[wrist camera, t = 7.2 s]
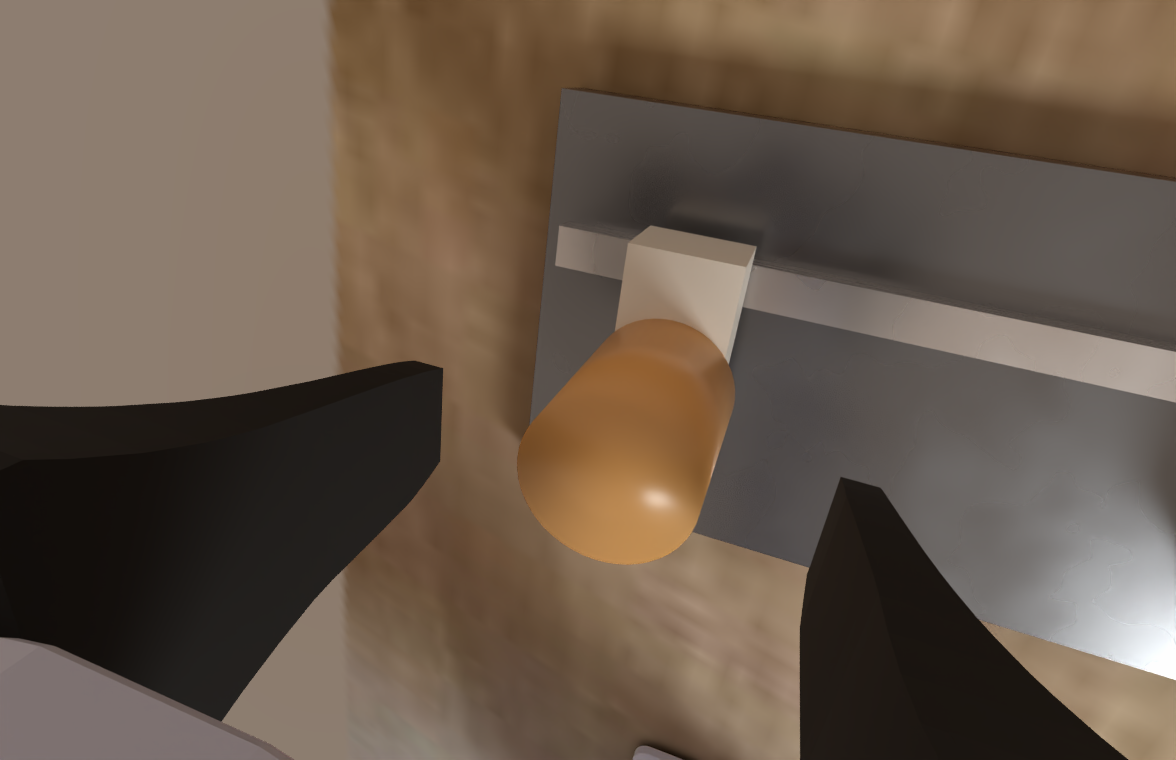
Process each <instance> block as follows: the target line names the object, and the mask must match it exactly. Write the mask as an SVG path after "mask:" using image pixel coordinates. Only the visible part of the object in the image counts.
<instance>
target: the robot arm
mask: <svg viewBox="0 0 1176 760" xmlns="http://www.w3.org/2000/svg"><path fill="white" fill-rule="evenodd" d="M442 386H443V368H440V367H436V366H432V365H429V364H425V363H421V362H418V361H405V362H397V363H392V364H386V365H381V366H376V367H372V368H367V369H362V370H358V371H354V372H349V373H345V374H340V375H336V376H332V377H327V378H323V379H318V380H314V381H310V382H304V383H300V384H294V385H289V386H284V387H279V388H274V389H269V390H264V391H258V392H253V393H247V394H241V395H235V396H228V397H220V398H212V399H204V400H195V401H186V402H176V403H161V404H160V403H159V404H143V405H127V406H108V407H107V406H106V407H33V406H7V405H0V760H294V759H293V758H291V757H289V756H288V755H286V754H285V753H283V752H282V751H280V750H279V749H277V748H276V747H274V746H273V745H271V744H269V743H267V742H264V741H262V740H260V739H258V738H256V737H254V736H251V735H249V734H247V733H245V732H243V731H240V730H238V729H236V728H234V727H232V726H229V725H227V724H225V723H223V722H221V721H222V720H223V718H224V717H225V716H226V714H227V713H228V711H229V710H230V708H231V707H232V706H233V704H234V703H235V701H236V700H237V699H238V697H239V696H240V694H241V693H242V692H243V690H244V689H245V688H246V686H247V685H248V684H249V682H250V681H251V680H252V678H253V677H254V676H255V674H256V673H257V672H258V670H259V669H260V668H261V666H262V665H263V664H264V662H265V661H266V660H267V658H268V657H269V656H270V655H271V653H272V652H273V651H274V649H275V648H276V647H277V645H278V644H279V642H280V641H281V640H282V639H283V638H284V636H285V635H286V634H287V633H288V631H289V630H290V629H291V628H292V627H293V625H294V624H295V623H296V622H297V620H298V619H299V618H300V617H301V615H302V614H303V613H304V612H305V610H306V609H307V608H308V607H309V605H310V604H311V603H312V602H313V600H314V599H315V598H316V597H317V596H318V595H319V594H320V593H321V592H322V591H323V590H324V588H325V587H326V586H327V585H328V584H329V583H330V582H331V581H332V580H333V579H334V578H335V577H336V576H337V575H338V574H339V573H340V572H341V571H342V570H343V569H344V568H345V567H346V566H347V565H348V564H349V563H350V562H351V561H352V560H353V559H354V558H355V557H356V556H357V555H358V554H359V553H360V552H361V551H362V550H363V549H364V548H365V547H366V546H367V545H368V544H369V543H370V542H371V541H372V540H373V539H374V538H375V537H376V536H377V535H378V534H379V533H380V532H381V531H382V530H383V529H384V528H385V527H386V526H387V525H388V524H389V523H390V522H391V521H392V520H393V519H394V518H395V517H396V516H397V515H398V514H399V513H400V512H401V511H402V510H403V509H404V508H405V507H406V506H407V504H408V503H409V502H410V501H411V500H412V499H413V498H414V496H415V495H416V494H417V492H418V491H419V490H420V489H421V487H422V486H423V485H424V483H425V482H426V480H427V479H428V478H429V476H430V475H431V473H432V472H433V471H434V469H435V468H436V466H437V465H438V463H439V462H440V448H441V417H442ZM633 760H683V759H680V758H678V757H675V756H673V755H670V754H668V753H665V752H662V751H660V750H657V749H655V748H652V747H649V746H640V747H638V748H636V750H635V753H634V756H633ZM800 760H1128V759H1127V758H1126V757H1124V756H1123V755H1122V754H1121V753H1119V752H1118V751H1117V750H1116V749H1115V748H1113V747H1112V746H1111V745H1110V744H1108V743H1107V742H1106V741H1105V740H1104V739H1102V738H1101V737H1100V736H1099V735H1098V734H1096V733H1095V732H1094V731H1093V730H1092V729H1091V728H1090V727H1088V726H1087V725H1086V724H1085V723H1084V722H1083V721H1082V720H1081V719H1079V718H1078V717H1077V716H1076V715H1075V714H1074V713H1073V712H1071V711H1070V710H1069V709H1068V708H1067V707H1066V706H1065V705H1063V704H1062V703H1061V702H1060V701H1059V700H1058V699H1057V698H1056V697H1054V696H1053V695H1052V694H1051V693H1050V692H1049V691H1048V690H1047V689H1046V688H1045V687H1044V686H1043V685H1042V684H1041V683H1040V682H1038V681H1037V680H1036V679H1035V678H1034V677H1033V676H1032V675H1031V674H1030V673H1029V672H1028V671H1027V670H1026V669H1025V668H1024V667H1023V666H1022V665H1021V664H1020V663H1019V662H1018V661H1017V660H1016V659H1015V658H1014V657H1013V656H1012V655H1011V654H1010V653H1009V652H1008V650H1007V649H1006V648H1005V647H1004V646H1003V645H1002V644H1001V643H1000V642H999V641H998V640H997V639H996V638H995V637H994V636H993V635H992V634H991V633H990V632H989V631H988V629H987V628H986V627H985V626H984V625H983V624H982V623H981V622H980V621H979V619H978V618H977V617H976V616H975V615H974V614H973V612H972V611H971V610H970V609H969V608H968V606H967V605H966V604H965V603H964V602H963V600H962V599H961V598H960V597H959V596H958V594H957V593H956V592H955V591H954V590H953V588H952V587H951V586H950V585H949V583H948V582H947V581H946V579H945V578H944V577H943V576H942V574H941V573H940V572H939V570H938V569H937V568H936V566H935V565H934V564H933V562H932V561H931V560H930V558H929V557H928V556H927V554H926V553H925V551H924V550H923V549H922V547H921V546H920V544H919V543H918V542H917V540H916V539H915V537H914V536H913V534H912V533H911V531H910V530H909V529H908V527H907V526H906V524H905V523H904V521H903V520H902V518H901V517H900V515H899V514H898V512H897V511H896V509H895V508H894V506H893V505H892V503H891V502H890V500H889V499H888V497H887V496H886V494H885V493H884V492H883V490H882V489H881V488H880V487H877V486H873V485H869V484H866V483H862V482H858V481H855V480H851V479H847V478H844V477H840V480H839V483H838V486H837V489H836V492H835V495H834V498H833V501H832V504H831V507H830V509H829V512H828V515H827V518H826V521H825V524H824V527H823V530H822V533H821V536H820V539H819V541H818V544H817V547H816V550H815V553H814V556H813V559H812V562H811V565H810V568H809V571H808V573H807V578H806V586H805V593H804V600H803V608H802V616H801V624H800Z"/></svg>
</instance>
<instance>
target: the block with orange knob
mask: <svg viewBox="0 0 1176 760" xmlns="http://www.w3.org/2000/svg"><path fill="white" fill-rule="evenodd" d="M756 247H757V246H752V245H747V244H742V243H737V242H732V241H727V240H722V239H717V238H712V237H707V236H702V235H697V234H691V233H686V232H681V231H676V230H671V229H666V228H661V227H656V226H649V227H648V228H647V229H645V230H644V231H643V232H641V233H640V234H639V235H638V236H636V237H635V238H634V239H632V240H631V241H630V242H629V243H628V247H627V253H626V260H625V267H624V273H623V280H622V287H621V293H620V300H619V307H618V313H617V320H616V327H615V332H614V333H612V334H611V335H610V336H609V337H608V338H607V339H606V340H605V341H604V342H603V343H602V344H601V346H600V347H599V348H598V349H597V350H596V351H595V352H594V353H593V354H592V356H591V357H590V358H589V359H588V360H587V361H586V362H585V363H584V365H583V366H582V367H581V368H580V369H579V370H578V371H577V372H576V373H575V375H574V376H573V377H572V378H571V379H570V380H569V381H568V382H567V384H566V385H565V386H564V387H563V388H562V389H561V390H560V391H559V392H558V394H557V395H556V396H555V397H554V398H553V399H552V400H551V401H550V402H549V404H548V405H547V406H546V407H545V408H544V409H543V410H542V411H541V413H540V414H539V415H538V416H537V417H536V418H535V419H534V420H533V422H532V423H531V424H530V426H529V427H528V428H527V430H526V432H525V434H524V436H523V438H522V440H521V444H520V447H519V451H518V457H517V471H518V479H519V483H520V487H521V490H522V493H523V495H524V498H525V500H526V502H527V504H528V506H529V508H530V510H531V511H532V513H533V514H534V516H535V517H536V518H537V520H538V521H539V522H540V523H541V524H542V526H543V527H544V528H545V529H546V530H547V531H548V532H549V533H550V534H551V535H552V536H554V537H555V538H556V539H557V540H559V541H560V542H561V543H563V544H564V545H566V546H567V547H569V548H570V549H572V550H574V551H576V552H578V553H580V554H582V555H584V556H587V557H589V558H592V559H595V560H599V561H603V562H607V563H613V564H627V565H629V564H641V563H646V562H650V561H653V560H656V559H659V558H662V557H664V556H666V555H668V554H670V553H671V552H673V551H674V550H675V549H677V548H678V547H679V546H680V545H681V544H682V543H683V542H685V541H686V539H687V538H688V537H689V535H690V534H691V533H692V531H693V529H694V527H695V525H696V523H697V521H698V518H699V515H700V511H701V508H702V505H703V502H704V499H705V496H706V493H707V489H708V486H709V483H710V480H711V477H712V474H713V471H714V467H715V464H716V461H717V458H718V455H719V452H720V449H721V445H722V442H723V439H724V436H725V433H726V430H727V427H728V423H729V420H730V417H731V414H732V411H733V408H734V402H735V385H734V379H733V375H732V371H731V369H730V367H729V361H730V357H731V353H732V349H733V344H734V340H735V336H736V332H737V327H738V323H739V319H740V315H741V310H742V306H743V302H744V298H745V294H746V289H747V285H748V281H749V277H750V272H751V268H752V264H753V260H754V255H755V251H756Z"/></svg>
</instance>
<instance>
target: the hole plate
mask: <svg viewBox="0 0 1176 760" xmlns="http://www.w3.org/2000/svg"><path fill="white" fill-rule="evenodd" d="M649 226H656V227H661V228H666V229H671V230H676V231H681V232H686V233H691V234H697V235H702V236H707V237H712V238H717V239H722V240H727V241H732V242H737V243H742V244H747V245H752V246H757V247H756V251H755V255H754V260H753V264H752V268H751V272H750V277H749V281H748V285H747V289H746V294H745V298H744V302H743V306H742V310H741V315H740V319H739V323H738V327H737V332H736V336H735V340H734V344H733V349H732V353H731V357H730V361H729V367H730V369H731V371H732V375H733V379H734V385H735V402H734V408H733V411H732V414H731V417H730V420H729V423H728V427H727V430H726V433H725V436H724V439H723V442H722V445H721V449H720V452H719V455H718V458H717V461H716V464H715V467H714V471H713V474H712V477H711V480H710V483H709V486H708V489H707V493H706V496H705V499H704V502H703V505H702V508H701V511H700V515H699V518H698V521H697V523H696V525H695V527H694V529H693V531H692V532H695V533H698V534H701V535H704V536H708V537H711V538H714V539H717V540H721V541H724V542H727V543H731V544H734V545H737V546H740V547H744V548H747V549H750V550H753V551H757V552H760V553H763V554H766V555H770V556H773V557H776V558H780V559H783V560H786V561H789V562H793V563H796V564H799V565H802V566H806V567H809V568H810V565H811V562H812V559H813V556H814V553H815V550H816V547H817V544H818V541H819V539H820V536H821V533H822V530H823V527H824V524H825V521H826V518H827V515H828V512H829V509H830V507H831V504H832V501H833V498H834V495H835V492H836V489H837V486H838V483H839V480H840V477H844V478H847V479H851V480H855V481H858V482H862V483H866V484H869V485H873V486H877V487H880V488H881V489H882V490H883V492H884V493H885V494H886V496H887V497H888V499H889V500H890V502H891V503H892V505H893V506H894V508H895V509H896V511H897V512H898V514H899V515H900V517H901V518H902V520H903V521H904V523H905V524H906V526H907V527H908V529H909V530H910V531H911V533H912V534H913V536H914V537H915V539H916V540H917V542H918V543H919V544H920V546H921V547H922V549H923V550H924V551H925V553H926V554H927V556H928V557H929V558H930V560H931V561H932V562H933V564H934V565H935V566H936V568H937V569H938V570H939V572H940V573H941V574H942V576H943V577H944V578H945V579H946V581H947V582H948V583H949V585H950V586H951V587H952V588H953V590H954V591H955V592H956V593H957V594H958V596H959V597H960V598H961V599H962V600H963V602H964V603H965V604H966V605H967V606H968V608H969V609H970V610H971V611H972V612H973V614H974V615H975V616H976V617H977V618H978V619H979V620H982V621H985V622H988V623H992V624H995V625H998V626H1002V627H1005V628H1008V629H1011V630H1015V631H1018V632H1021V633H1024V634H1028V635H1031V636H1034V637H1037V638H1041V639H1044V640H1047V641H1050V642H1054V643H1057V644H1060V645H1064V646H1067V647H1070V648H1073V649H1077V650H1080V651H1083V652H1086V653H1090V654H1093V655H1096V656H1099V657H1103V658H1106V659H1109V660H1113V661H1116V662H1119V663H1122V664H1126V665H1129V666H1132V667H1135V668H1139V669H1142V670H1145V671H1148V672H1152V673H1155V674H1158V675H1161V676H1165V677H1168V678H1171V679H1175V680H1176V178H1171V177H1165V176H1158V175H1152V174H1145V173H1138V172H1132V171H1125V170H1119V169H1112V168H1105V167H1099V166H1092V165H1086V164H1079V163H1072V162H1066V161H1059V160H1053V159H1046V158H1039V157H1033V156H1026V155H1020V154H1013V153H1006V152H1000V151H993V150H987V149H980V148H973V147H967V146H960V145H953V144H947V143H940V142H934V141H927V140H920V139H914V138H907V137H901V136H894V135H887V134H881V133H874V132H868V131H861V130H854V129H848V128H841V127H835V126H828V125H821V124H815V123H808V122H802V121H795V120H788V119H782V118H775V117H769V116H762V115H755V114H749V113H742V112H736V111H729V110H722V109H716V108H709V107H703V106H696V105H689V104H683V103H676V102H670V101H663V100H656V99H650V98H643V97H637V96H630V95H623V94H617V93H610V92H604V91H597V90H590V89H584V88H562V91H561V101H560V112H559V122H558V132H557V143H556V153H555V164H554V174H553V185H552V195H551V205H550V216H549V226H548V237H547V247H546V258H545V268H544V278H543V289H542V299H541V310H540V320H539V330H538V341H537V351H536V362H535V372H534V383H533V393H532V403H531V414H530V424H531V423H532V422H533V420H534V419H535V418H536V417H537V416H538V415H539V414H540V413H541V411H542V410H543V409H544V408H545V407H546V406H547V405H548V404H549V402H550V401H551V400H552V399H553V398H554V397H555V396H556V395H557V394H558V392H559V391H560V390H561V389H562V388H563V387H564V386H565V385H566V384H567V382H568V381H569V380H570V379H571V378H572V377H573V376H574V375H575V373H576V372H577V371H578V370H579V369H580V368H581V367H582V366H583V365H584V363H585V362H586V361H587V360H588V359H589V358H590V357H591V356H592V354H593V353H594V352H595V351H596V350H597V349H598V348H599V347H600V346H601V344H602V343H603V342H604V341H605V340H606V339H607V338H608V337H609V336H610V335H611V334H612V333H614V332H615V327H616V320H617V313H618V307H619V300H620V293H621V287H622V280H623V273H624V267H625V260H626V253H627V247H628V243H629V242H630V241H631V240H632V239H634V238H635V237H636V236H638V235H639V234H640V233H641V232H643V231H644V230H645V229H647V228H648V227H649ZM530 424H529V426H530Z"/></svg>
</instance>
